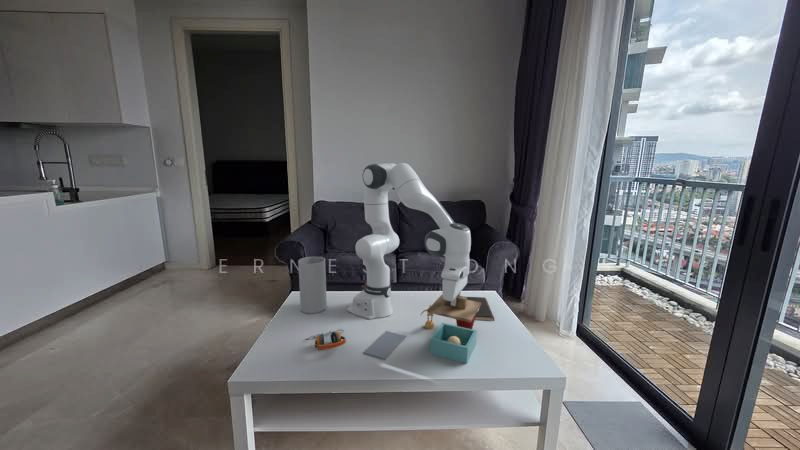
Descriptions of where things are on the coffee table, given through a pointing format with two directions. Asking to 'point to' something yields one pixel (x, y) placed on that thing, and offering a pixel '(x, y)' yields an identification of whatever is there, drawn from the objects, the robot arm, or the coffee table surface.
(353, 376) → the coffee table surface
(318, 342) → the headphones
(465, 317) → the lid
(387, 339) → the mat
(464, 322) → the plastic cup
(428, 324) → the figurine
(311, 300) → the cylinder vase
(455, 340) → the ball
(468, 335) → the open box
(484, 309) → the hardcover book
